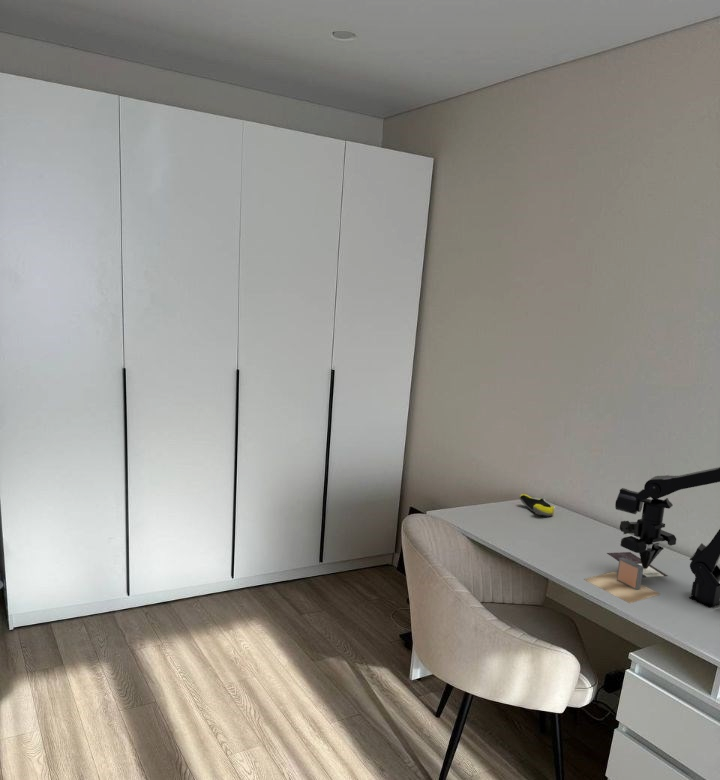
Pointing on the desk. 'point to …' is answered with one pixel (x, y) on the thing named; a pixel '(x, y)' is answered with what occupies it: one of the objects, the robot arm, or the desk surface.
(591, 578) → the mat
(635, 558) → the chocolate bar
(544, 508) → the black and yellow shoe
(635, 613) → the desk surface
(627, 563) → the tile
